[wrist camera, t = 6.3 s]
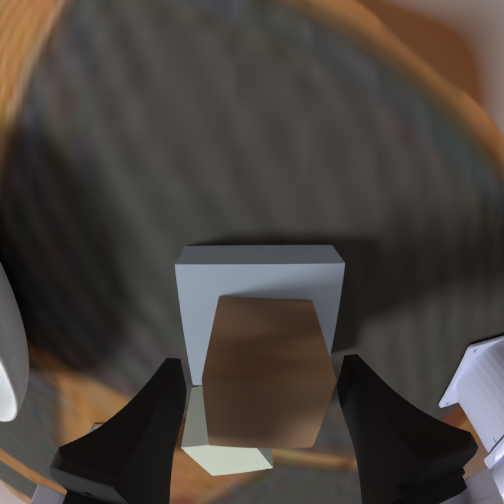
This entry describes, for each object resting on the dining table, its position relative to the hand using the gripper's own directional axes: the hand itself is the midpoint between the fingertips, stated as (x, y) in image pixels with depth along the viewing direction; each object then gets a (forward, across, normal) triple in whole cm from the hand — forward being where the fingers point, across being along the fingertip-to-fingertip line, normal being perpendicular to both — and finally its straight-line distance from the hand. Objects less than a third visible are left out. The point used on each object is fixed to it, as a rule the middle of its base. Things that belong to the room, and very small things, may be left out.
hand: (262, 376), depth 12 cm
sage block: (+6, +2, +8) cm, 10 cm away
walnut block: (+3, 0, 0) cm, 3 cm away
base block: (+6, 0, 0) cm, 6 cm away
